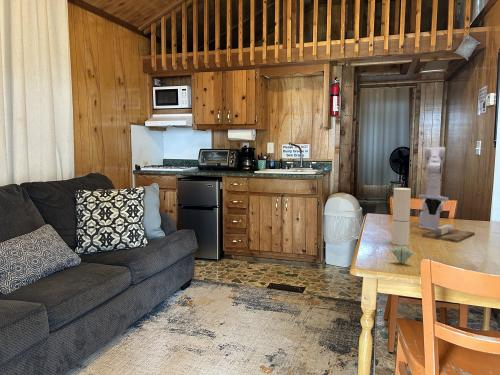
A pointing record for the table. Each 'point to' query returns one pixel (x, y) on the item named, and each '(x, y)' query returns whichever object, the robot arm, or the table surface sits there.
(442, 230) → the coupling lever
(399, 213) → the cream tall block
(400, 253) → the green fan shape
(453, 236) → the base
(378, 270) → the table surface
